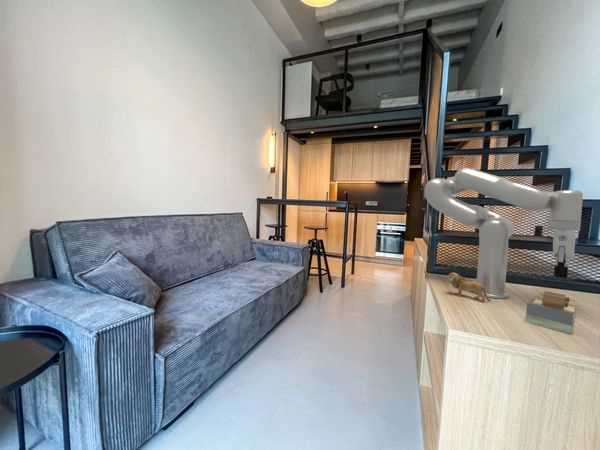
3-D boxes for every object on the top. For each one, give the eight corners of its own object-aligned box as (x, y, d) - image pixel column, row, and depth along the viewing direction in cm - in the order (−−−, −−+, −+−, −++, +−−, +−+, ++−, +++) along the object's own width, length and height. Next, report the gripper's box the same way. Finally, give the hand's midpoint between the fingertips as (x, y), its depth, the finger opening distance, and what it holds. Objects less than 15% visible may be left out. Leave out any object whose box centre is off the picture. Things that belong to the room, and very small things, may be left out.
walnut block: (562, 311, 84) (564, 298, 83) (542, 306, 87) (543, 293, 87) (564, 307, 87) (565, 294, 86) (543, 303, 91) (545, 290, 90)
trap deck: (571, 334, 74) (572, 325, 73) (525, 321, 81) (526, 314, 81) (575, 305, 96) (576, 298, 96) (539, 297, 104) (540, 291, 103)
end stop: (572, 325, 73) (573, 314, 73) (526, 314, 81) (527, 303, 81) (572, 324, 74) (573, 312, 74) (526, 312, 82) (528, 302, 82)
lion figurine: (445, 294, 104) (447, 273, 104) (448, 291, 108) (449, 270, 108) (490, 304, 95) (492, 280, 94) (491, 300, 99) (493, 277, 98)
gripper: (579, 227, 82) (575, 283, 83) (580, 225, 92) (576, 275, 93) (547, 226, 88) (543, 278, 89) (551, 224, 98) (548, 271, 99)
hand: (560, 277), depth 91 cm, fingers closed
